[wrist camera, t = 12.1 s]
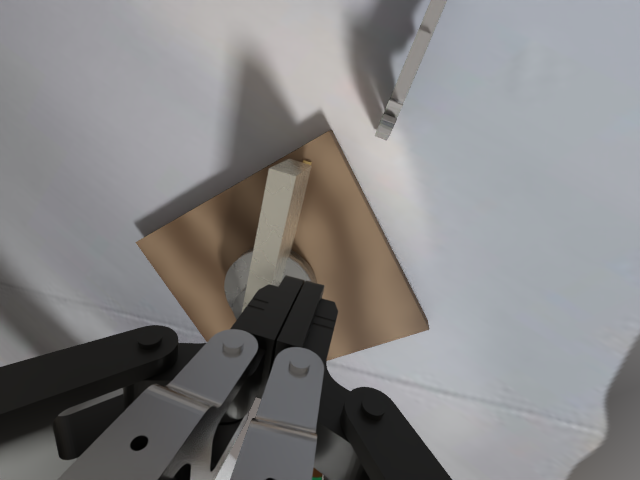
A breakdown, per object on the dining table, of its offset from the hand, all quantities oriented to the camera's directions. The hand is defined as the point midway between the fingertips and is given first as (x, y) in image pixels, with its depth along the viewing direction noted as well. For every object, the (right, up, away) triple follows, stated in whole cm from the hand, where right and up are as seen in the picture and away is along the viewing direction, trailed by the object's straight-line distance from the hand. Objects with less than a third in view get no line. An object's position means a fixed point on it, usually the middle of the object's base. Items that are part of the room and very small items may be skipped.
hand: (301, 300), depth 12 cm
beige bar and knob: (-3, +1, +19) cm, 20 cm away
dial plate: (-4, -2, +23) cm, 23 cm away
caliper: (+10, +20, +12) cm, 25 cm away
